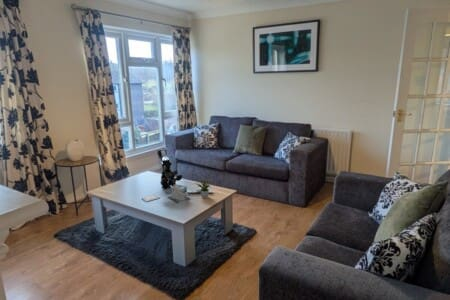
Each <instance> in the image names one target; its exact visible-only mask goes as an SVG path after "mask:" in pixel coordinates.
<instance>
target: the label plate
mask: <svg viewBox="0 0 450 300" xmlns="http://www.w3.org/2000/svg"><path fill="white" fill-rule="evenodd" d="M158 199H161V197H160V196H158V195H157V194H155V193H154V194H151V195H147V196H144V197H141V200H143V201H145V202H147V203H148V202H151V201H155V200H158Z"/></svg>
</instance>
